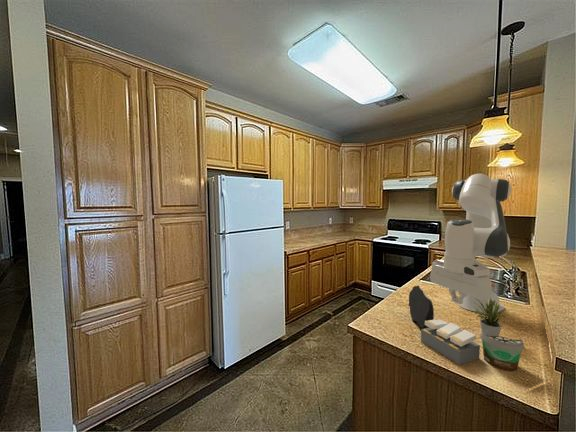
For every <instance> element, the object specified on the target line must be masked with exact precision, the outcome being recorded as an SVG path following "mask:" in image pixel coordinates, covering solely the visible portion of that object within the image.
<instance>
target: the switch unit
mask: <svg viewBox="0 0 576 432" xmlns="http://www.w3.org/2000/svg"><path fill="white" fill-rule="evenodd" d="M436 330H438V329H431V328H430V327H429V328H422V329H421V330H420V342H422V344H424V345H426V346H428V347H429V348H431V349H433V350H434V351H436V352H437V353H439V354H440V355H442V356H444V357H445V358H447V359H448V360H450V361H451V362H454V363H455V364H457V365H458V366H461V365H464V364H467V363H470V362H473V361H477V360H478V359H479V360H480V353H481V352H480V350H481V345H480V344H478V343H476V342H475V341H472V342H470V343H468V344H466V345H464V346H462V347H461V346H459V345H457V344H455V343H453V342H451V341H450V338H448V339H445V338H443V337H441V336H439V335H438V334H437V331H436Z"/></svg>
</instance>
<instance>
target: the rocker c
mask: <svg viewBox="0 0 576 432" xmlns="http://www.w3.org/2000/svg"><path fill="white" fill-rule="evenodd" d="M475 340H477V335H476V334H474V332H473V333H472V332H470V331H469V330H467V329H463V330H461V331H460V332H459V333H457V334H455V335H453V336H451V337H450V341H451V342H453V343H455V344H457V345H459V346H461V347H462V346H464V345H466V344H468V343H470V342H475Z"/></svg>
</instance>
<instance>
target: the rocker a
mask: <svg viewBox="0 0 576 432" xmlns="http://www.w3.org/2000/svg"><path fill="white" fill-rule="evenodd" d="M447 324H449V323H448V322H446V321H444V320H442V319H440V318H437V319H434V320H428V321H425V325H426V326H428V327H430V328H431V329H440V328H442V327H444V326H445V325H447Z"/></svg>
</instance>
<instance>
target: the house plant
mask: <svg viewBox="0 0 576 432" xmlns="http://www.w3.org/2000/svg"><path fill="white" fill-rule="evenodd" d="M476 300H477V299H476ZM478 301H479V300H478ZM479 302H480V301H479ZM494 303H495V300H494V301H492V299H491V297H490V300H489V305H488V303H486V307H487V308H486V310H485V308H484V306H483V304H482V303H481V302H480V304H481V305H482V307H483V308H484V309H483V310H484V311H485V312H486V313H484V311H483V310H482V309H481V310H482V311H483V312H480V311H479V310H478V309H477V310H478V311H473V313H474V312H475V314H476V318H479V319H480V320H479V324H480V328H481V334H482V333H483V334H485V335H488V336H500V333H501V330H502V327H503V326H502V324H501V321H500V320H501V317H509V315H504V314H503V315H501V314H502V313H503V312H505V311H507V310H506V309H507V308H505V309H504V310H501V311H500V312H498V313H497V311H498V309H499V304H500V303H499V304H498V306H497V301H496V304H495V308H494V311H493V306H494ZM474 304H475V303H474ZM477 305H478V304H477ZM478 307H479V306H478ZM480 307H481V306H480ZM474 308H475V307H474ZM477 314H478V315H477ZM509 318H510V317H509ZM502 323H503V324H505V323H506V322H505V321H502Z"/></svg>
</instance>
